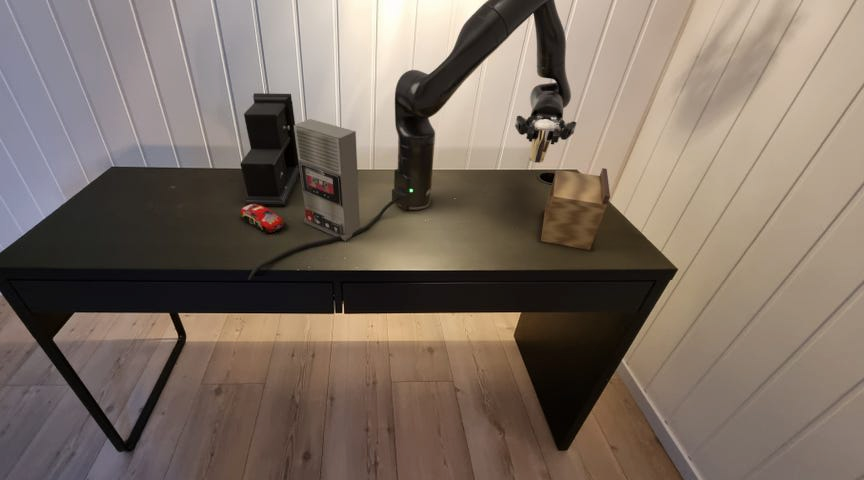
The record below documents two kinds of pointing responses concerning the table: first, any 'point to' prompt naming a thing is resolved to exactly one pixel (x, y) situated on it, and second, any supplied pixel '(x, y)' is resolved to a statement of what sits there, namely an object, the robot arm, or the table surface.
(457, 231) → the table surface
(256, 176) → the bookend
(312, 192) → the cassette tape recorder
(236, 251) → the table surface
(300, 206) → the table surface
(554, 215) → the block
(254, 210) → the race car
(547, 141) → the milkshake
